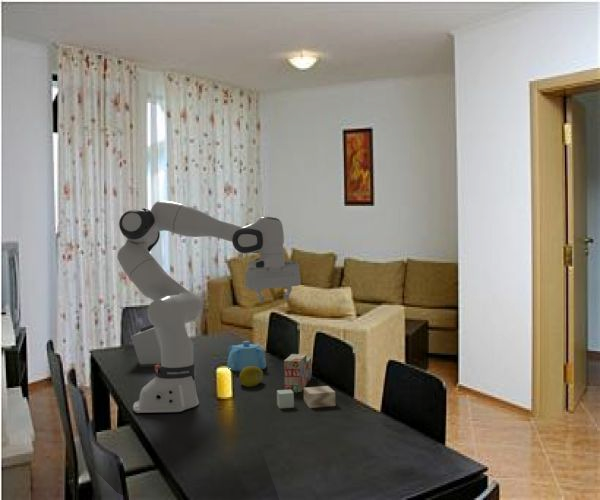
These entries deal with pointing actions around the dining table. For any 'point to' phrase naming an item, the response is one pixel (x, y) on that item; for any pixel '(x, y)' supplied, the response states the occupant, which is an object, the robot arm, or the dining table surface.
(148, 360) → the alarm clock
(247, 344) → the decorative pot
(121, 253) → the robot arm
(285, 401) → the sage cube
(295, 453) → the dining table surface
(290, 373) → the cardboard box
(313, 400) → the birch base block
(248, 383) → the lemon
